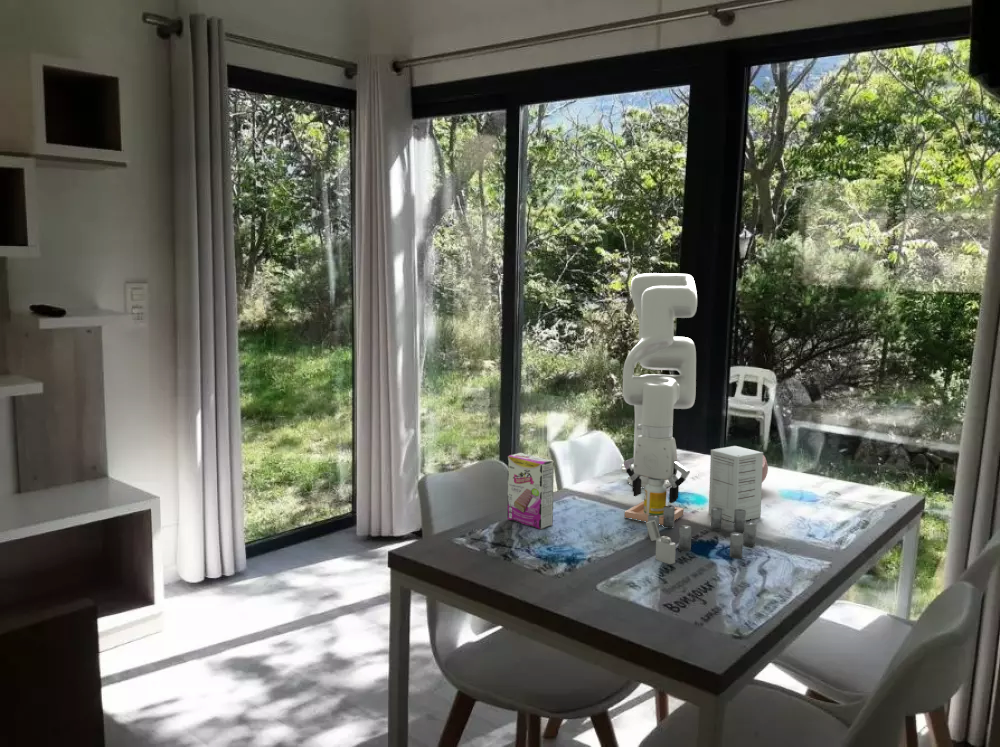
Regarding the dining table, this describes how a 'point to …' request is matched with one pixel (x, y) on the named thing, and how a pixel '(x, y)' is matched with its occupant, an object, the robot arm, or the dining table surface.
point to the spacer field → (716, 525)
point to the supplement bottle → (654, 497)
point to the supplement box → (736, 481)
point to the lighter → (661, 544)
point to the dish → (638, 514)
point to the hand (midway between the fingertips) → (654, 498)
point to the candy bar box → (530, 490)
